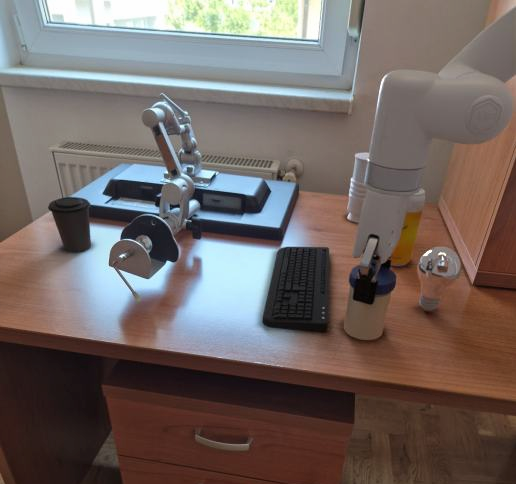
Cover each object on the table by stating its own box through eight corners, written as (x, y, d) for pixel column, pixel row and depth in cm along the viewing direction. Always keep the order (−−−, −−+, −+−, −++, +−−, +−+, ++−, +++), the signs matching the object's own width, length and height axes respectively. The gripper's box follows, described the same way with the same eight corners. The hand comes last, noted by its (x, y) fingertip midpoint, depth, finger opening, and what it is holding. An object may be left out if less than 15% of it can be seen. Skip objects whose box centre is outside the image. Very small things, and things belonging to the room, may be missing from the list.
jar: (390, 330, 79) (401, 280, 73) (366, 345, 75) (376, 293, 70) (359, 314, 83) (368, 265, 77) (335, 327, 79) (343, 277, 74)
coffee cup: (49, 246, 100) (38, 199, 94) (83, 235, 105) (74, 190, 99) (71, 258, 96) (60, 210, 90) (105, 246, 101) (97, 200, 95)
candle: (375, 216, 121) (386, 154, 112) (370, 225, 116) (381, 161, 107) (348, 211, 123) (357, 151, 114) (342, 220, 118) (351, 158, 109)
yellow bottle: (376, 254, 103) (390, 184, 94) (403, 254, 103) (419, 184, 94) (385, 267, 98) (401, 195, 89) (414, 267, 98) (432, 195, 90)
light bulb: (414, 296, 89) (430, 235, 81) (451, 308, 85) (471, 246, 78) (400, 312, 84) (416, 249, 77) (439, 325, 81) (459, 261, 74)
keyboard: (277, 250, 103) (278, 241, 101) (328, 255, 102) (329, 246, 100) (260, 326, 79) (261, 315, 78) (326, 332, 78) (328, 322, 77)
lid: (356, 269, 78) (358, 260, 77) (399, 279, 75) (401, 270, 74) (342, 288, 73) (344, 278, 72) (388, 299, 70) (390, 289, 69)
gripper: (382, 157, 72) (362, 263, 82) (346, 188, 59) (328, 309, 70) (433, 165, 69) (406, 274, 80) (406, 199, 57) (378, 324, 67)
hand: (370, 290), depth 75 cm, fingers closed on lid, 7 cm apart
